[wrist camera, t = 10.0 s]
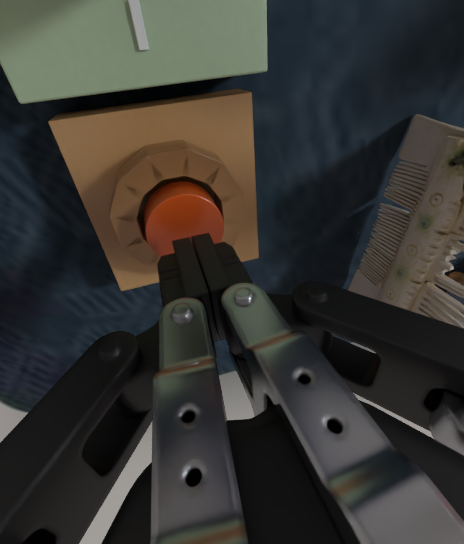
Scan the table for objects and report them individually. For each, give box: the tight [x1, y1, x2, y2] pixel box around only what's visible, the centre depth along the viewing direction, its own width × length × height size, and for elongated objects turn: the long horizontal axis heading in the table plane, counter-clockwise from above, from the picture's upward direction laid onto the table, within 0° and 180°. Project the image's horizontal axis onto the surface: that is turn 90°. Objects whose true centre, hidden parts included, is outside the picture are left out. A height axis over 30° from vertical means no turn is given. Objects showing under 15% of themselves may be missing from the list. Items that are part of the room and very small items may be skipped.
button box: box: [48, 89, 259, 291], centre depth 16 cm, size 10×9×4 cm
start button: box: [144, 181, 224, 258], centre depth 14 cm, size 4×4×2 cm
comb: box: [348, 114, 464, 328], centre depth 19 cm, size 15×2×10 cm, turn 177°
